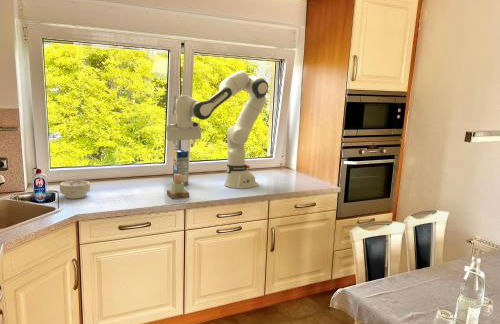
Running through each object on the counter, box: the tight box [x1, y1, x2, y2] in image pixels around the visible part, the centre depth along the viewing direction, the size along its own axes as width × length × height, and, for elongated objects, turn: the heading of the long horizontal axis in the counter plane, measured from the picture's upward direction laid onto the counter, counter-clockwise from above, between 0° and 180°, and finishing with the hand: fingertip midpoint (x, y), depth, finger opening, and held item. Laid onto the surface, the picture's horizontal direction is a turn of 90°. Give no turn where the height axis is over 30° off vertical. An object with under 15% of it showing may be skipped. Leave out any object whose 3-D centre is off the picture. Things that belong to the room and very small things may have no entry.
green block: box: [171, 182, 185, 193], centre depth 219 cm, size 6×6×5 cm
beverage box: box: [172, 148, 190, 187], centre depth 245 cm, size 7×11×22 cm, turn 27°
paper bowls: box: [59, 179, 91, 200], centre depth 209 cm, size 15×15×8 cm
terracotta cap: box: [174, 174, 182, 184], centre depth 218 cm, size 4×4×5 cm
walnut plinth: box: [166, 188, 190, 200], centre depth 220 cm, size 10×10×2 cm
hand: (184, 147), depth 222 cm, fingers open, 8 cm apart
